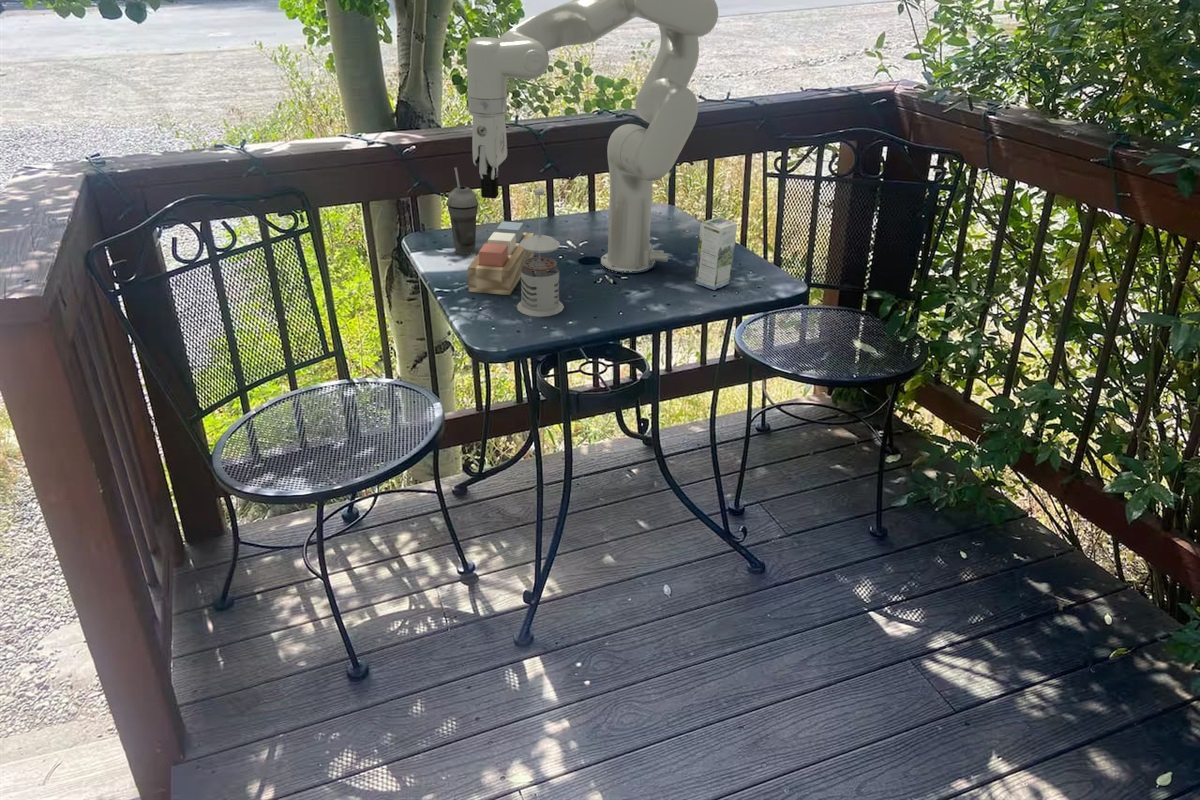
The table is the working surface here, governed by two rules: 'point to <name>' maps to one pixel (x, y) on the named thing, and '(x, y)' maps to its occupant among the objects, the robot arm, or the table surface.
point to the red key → (493, 255)
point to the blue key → (512, 229)
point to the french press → (539, 275)
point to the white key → (504, 240)
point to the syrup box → (715, 251)
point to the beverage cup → (463, 217)
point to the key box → (498, 273)
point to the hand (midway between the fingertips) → (489, 196)
